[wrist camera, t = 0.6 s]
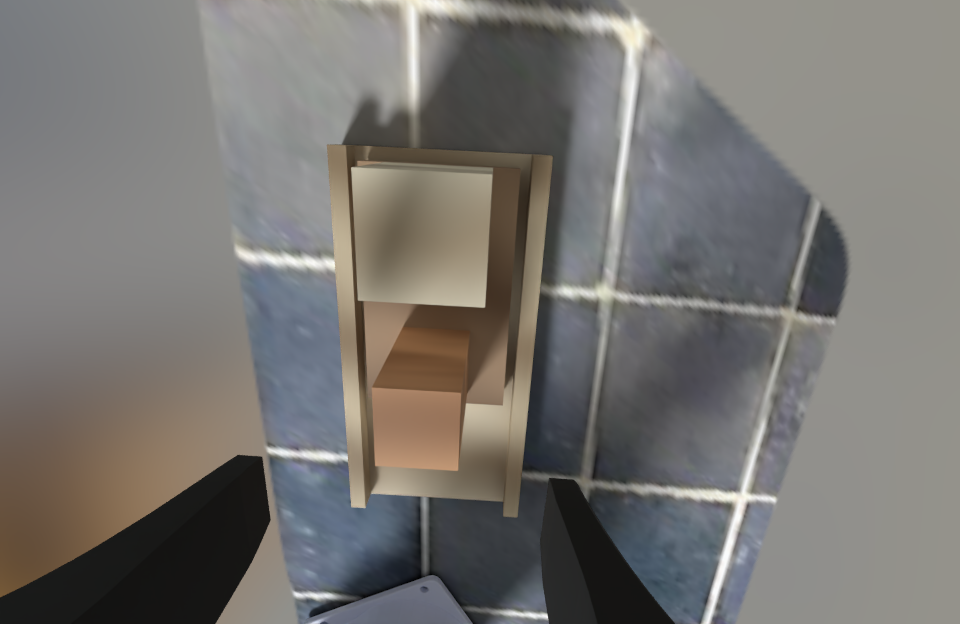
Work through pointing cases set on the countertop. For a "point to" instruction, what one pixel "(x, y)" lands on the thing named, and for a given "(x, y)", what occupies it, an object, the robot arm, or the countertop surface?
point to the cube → (422, 233)
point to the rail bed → (495, 428)
